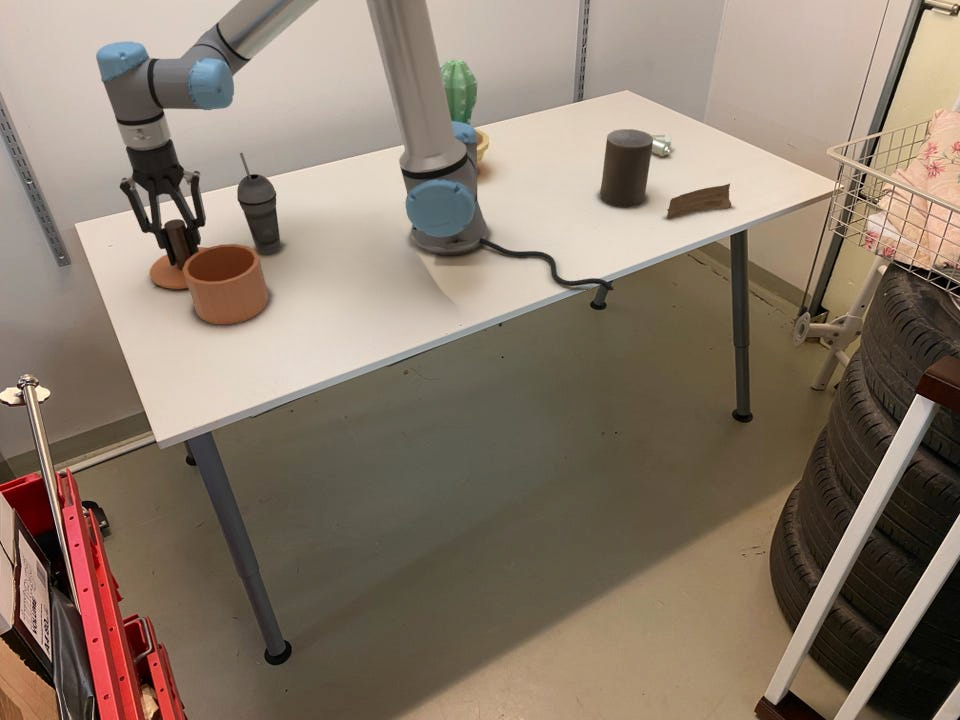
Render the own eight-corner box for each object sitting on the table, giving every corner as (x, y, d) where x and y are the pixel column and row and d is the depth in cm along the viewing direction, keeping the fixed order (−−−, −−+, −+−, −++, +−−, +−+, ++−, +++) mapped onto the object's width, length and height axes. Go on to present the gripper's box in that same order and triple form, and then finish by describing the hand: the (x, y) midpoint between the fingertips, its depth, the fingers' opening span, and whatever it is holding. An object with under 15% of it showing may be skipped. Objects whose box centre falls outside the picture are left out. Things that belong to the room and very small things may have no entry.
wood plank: (670, 222, 151) (674, 200, 148) (664, 217, 153) (668, 196, 149) (730, 207, 156) (735, 186, 152) (724, 203, 157) (729, 182, 154)
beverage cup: (278, 259, 141) (257, 163, 128) (244, 256, 142) (219, 160, 129) (293, 240, 146) (274, 146, 133) (259, 237, 148) (237, 143, 135)
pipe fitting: (671, 159, 175) (666, 146, 179) (674, 145, 172) (669, 131, 177) (638, 160, 175) (634, 146, 179) (640, 145, 172) (636, 131, 177)
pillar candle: (625, 212, 154) (634, 145, 145) (590, 196, 160) (597, 130, 150) (653, 197, 159) (664, 132, 149) (619, 182, 165) (627, 118, 155)
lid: (239, 258, 142) (227, 211, 135) (199, 296, 132) (183, 248, 125) (180, 247, 145) (165, 201, 138) (136, 284, 135) (118, 236, 128)
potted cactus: (496, 161, 174) (496, 53, 158) (481, 190, 162) (481, 77, 146) (434, 155, 177) (428, 48, 161) (416, 183, 165) (408, 72, 149)
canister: (281, 289, 133) (272, 250, 128) (244, 330, 124) (232, 289, 119) (221, 278, 136) (210, 239, 131) (181, 317, 127) (167, 276, 122)
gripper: (91, 156, 117) (136, 276, 133) (198, 146, 120) (230, 265, 135) (99, 137, 123) (142, 255, 138) (201, 128, 126) (231, 245, 141)
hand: (185, 260), depth 137 cm, fingers closed on lid, 4 cm apart
